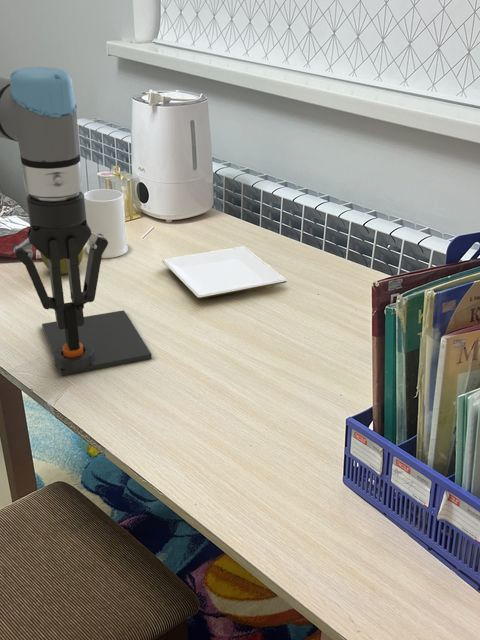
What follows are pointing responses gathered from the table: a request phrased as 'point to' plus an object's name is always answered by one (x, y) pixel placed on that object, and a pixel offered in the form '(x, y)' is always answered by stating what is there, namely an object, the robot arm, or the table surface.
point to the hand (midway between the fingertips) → (72, 345)
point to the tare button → (72, 351)
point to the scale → (98, 343)
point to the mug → (107, 219)
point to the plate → (223, 271)
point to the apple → (62, 262)
